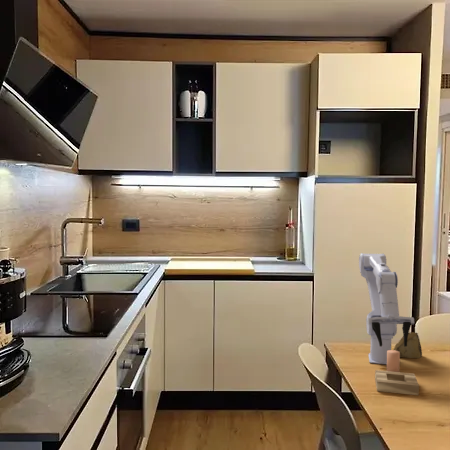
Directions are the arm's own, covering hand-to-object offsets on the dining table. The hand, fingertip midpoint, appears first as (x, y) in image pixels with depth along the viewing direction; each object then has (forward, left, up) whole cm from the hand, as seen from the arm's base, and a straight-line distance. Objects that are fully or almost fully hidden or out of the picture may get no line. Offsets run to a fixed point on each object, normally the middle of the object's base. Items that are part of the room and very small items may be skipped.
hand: (393, 345), depth 156 cm
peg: (-4, 0, -11) cm, 12 cm away
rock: (-26, +7, -11) cm, 29 cm away
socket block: (+6, 0, -11) cm, 13 cm away
